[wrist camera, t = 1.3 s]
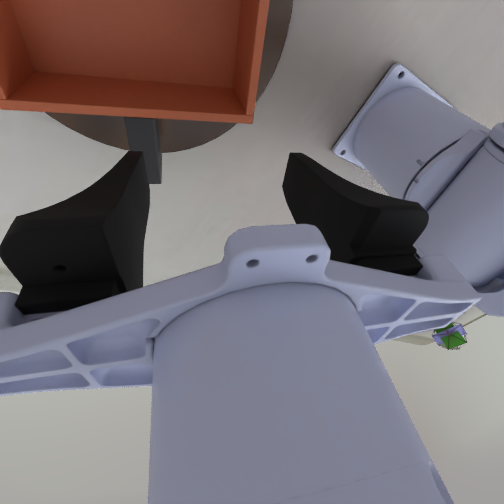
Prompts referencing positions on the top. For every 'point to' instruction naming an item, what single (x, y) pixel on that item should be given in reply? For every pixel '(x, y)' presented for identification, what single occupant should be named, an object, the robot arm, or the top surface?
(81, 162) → the top surface
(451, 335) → the geometric puzzle
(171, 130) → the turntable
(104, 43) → the bin
